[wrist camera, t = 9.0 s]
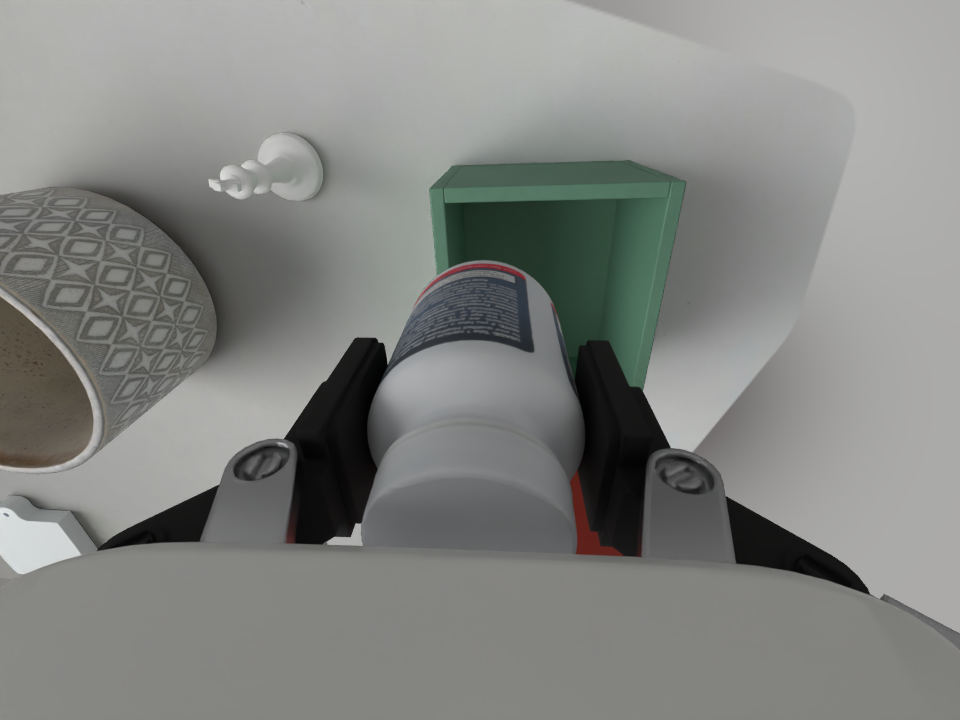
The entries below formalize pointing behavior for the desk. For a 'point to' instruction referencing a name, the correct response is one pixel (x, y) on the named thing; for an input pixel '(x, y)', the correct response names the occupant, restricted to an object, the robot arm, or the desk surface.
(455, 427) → the pill bottle
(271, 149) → the chess piece
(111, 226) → the planter
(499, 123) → the desk surface
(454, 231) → the box
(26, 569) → the mounting plate
